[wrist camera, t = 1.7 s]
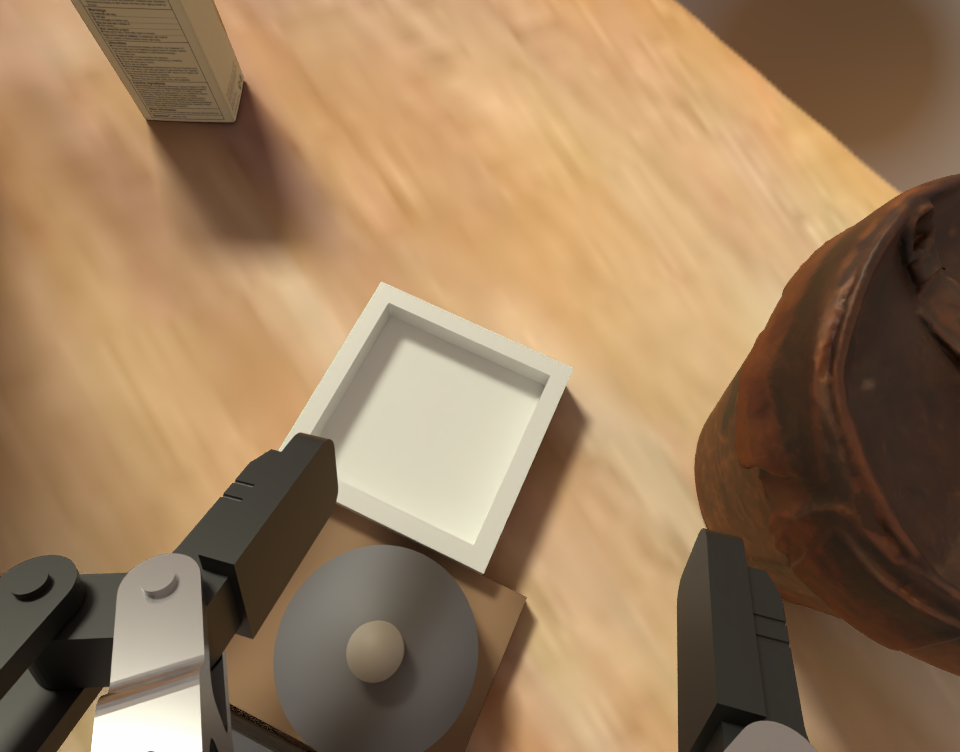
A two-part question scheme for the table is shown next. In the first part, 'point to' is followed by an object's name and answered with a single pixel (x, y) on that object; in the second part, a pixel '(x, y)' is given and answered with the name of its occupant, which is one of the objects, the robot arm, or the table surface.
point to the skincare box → (169, 56)
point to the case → (855, 431)
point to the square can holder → (257, 737)
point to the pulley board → (375, 645)
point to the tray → (433, 423)
